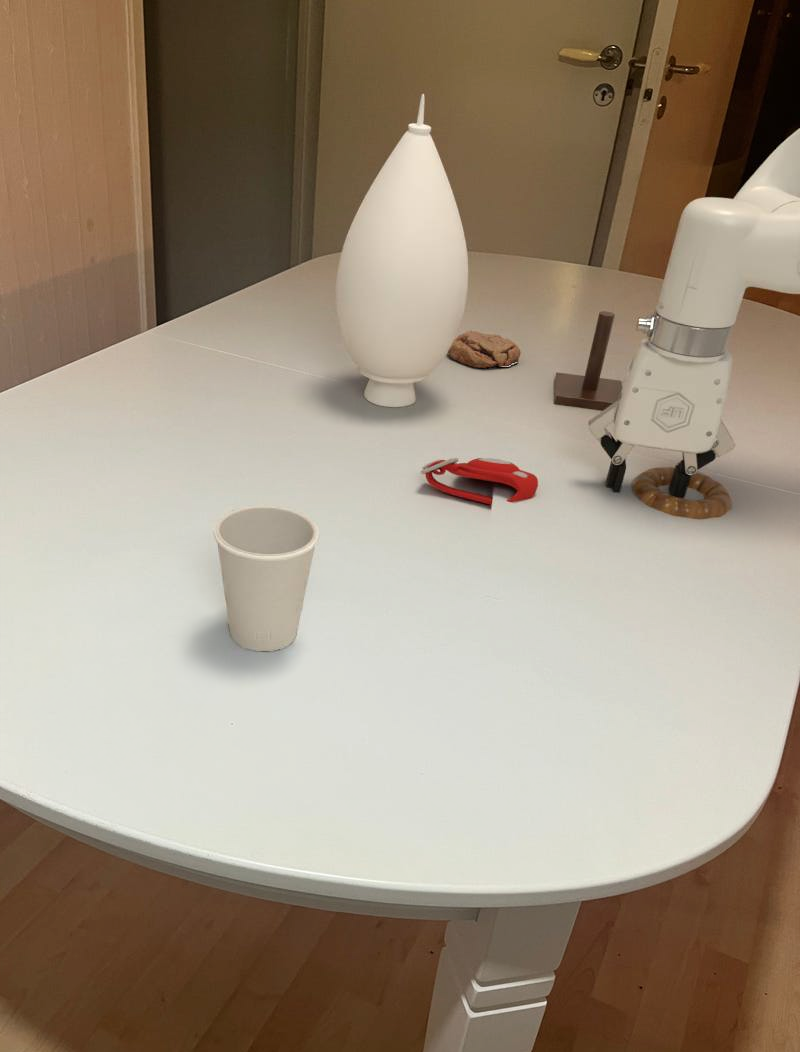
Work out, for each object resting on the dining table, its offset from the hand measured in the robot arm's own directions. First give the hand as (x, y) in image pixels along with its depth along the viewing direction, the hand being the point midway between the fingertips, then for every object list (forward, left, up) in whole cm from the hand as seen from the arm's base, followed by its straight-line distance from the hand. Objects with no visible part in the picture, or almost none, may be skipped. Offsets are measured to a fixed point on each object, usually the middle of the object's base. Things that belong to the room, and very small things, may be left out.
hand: (642, 496), depth 106 cm
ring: (-4, 0, +1) cm, 4 cm away
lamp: (+31, -20, -1) cm, 37 cm away
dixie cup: (+34, +36, -1) cm, 50 cm away
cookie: (+20, -40, -1) cm, 45 cm away
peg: (+5, -30, -1) cm, 30 cm away
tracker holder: (+18, +3, -1) cm, 18 cm away
